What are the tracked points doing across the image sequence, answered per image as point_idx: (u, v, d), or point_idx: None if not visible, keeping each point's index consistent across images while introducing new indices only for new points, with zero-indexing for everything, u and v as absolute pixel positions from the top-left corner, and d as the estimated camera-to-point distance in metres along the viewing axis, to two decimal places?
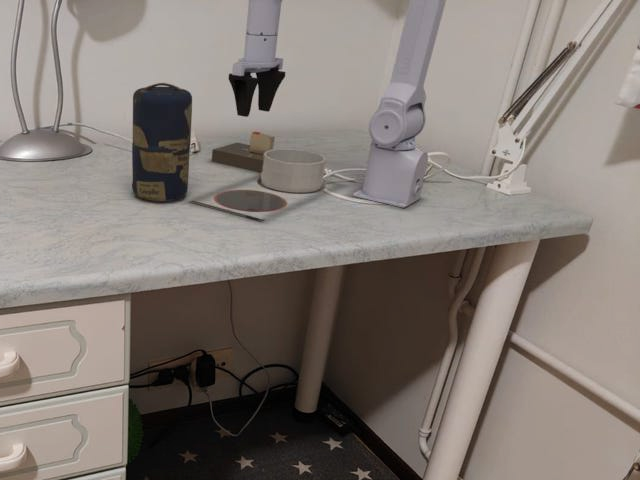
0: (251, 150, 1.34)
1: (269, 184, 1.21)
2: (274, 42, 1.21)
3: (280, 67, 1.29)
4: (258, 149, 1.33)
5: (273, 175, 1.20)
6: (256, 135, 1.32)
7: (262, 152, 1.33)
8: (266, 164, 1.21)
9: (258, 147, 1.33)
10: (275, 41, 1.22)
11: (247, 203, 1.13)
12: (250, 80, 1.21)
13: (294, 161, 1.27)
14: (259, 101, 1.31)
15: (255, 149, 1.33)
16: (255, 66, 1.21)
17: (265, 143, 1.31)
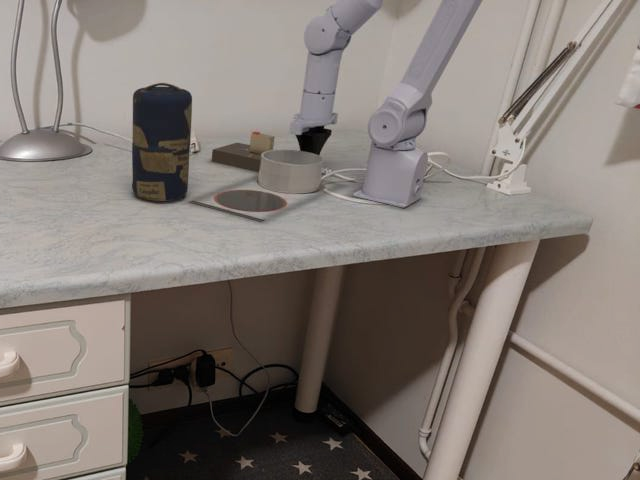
0: (251, 150, 1.34)
1: (266, 185, 1.21)
2: (332, 100, 1.20)
3: (335, 122, 1.28)
4: (258, 149, 1.33)
5: (270, 176, 1.19)
6: (256, 135, 1.32)
7: (262, 152, 1.33)
8: (263, 165, 1.20)
9: (258, 147, 1.33)
10: (333, 99, 1.20)
11: (247, 203, 1.13)
12: (318, 136, 1.22)
13: (291, 162, 1.27)
14: None
15: (255, 149, 1.33)
16: (313, 124, 1.20)
17: (265, 143, 1.31)
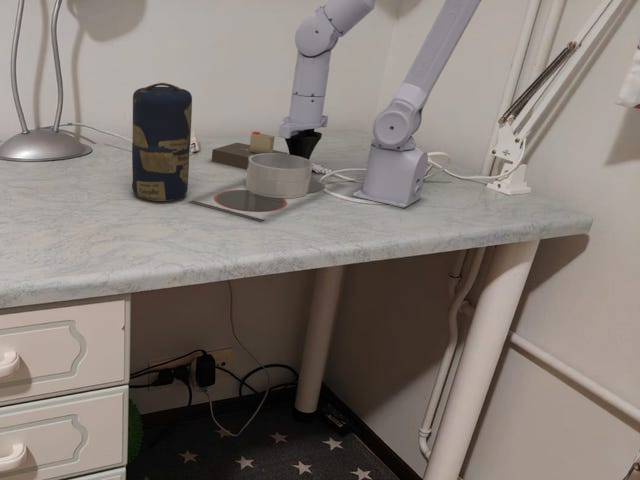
0: (251, 150, 1.34)
1: (254, 190, 1.18)
2: (322, 103, 1.17)
3: (325, 125, 1.25)
4: (258, 149, 1.33)
5: (258, 181, 1.17)
6: (256, 135, 1.32)
7: (262, 152, 1.33)
8: (251, 169, 1.17)
9: (258, 147, 1.33)
10: (323, 102, 1.17)
11: (247, 203, 1.13)
12: (307, 139, 1.19)
13: (280, 166, 1.24)
14: None
15: (255, 149, 1.33)
16: (302, 128, 1.17)
17: (265, 143, 1.31)
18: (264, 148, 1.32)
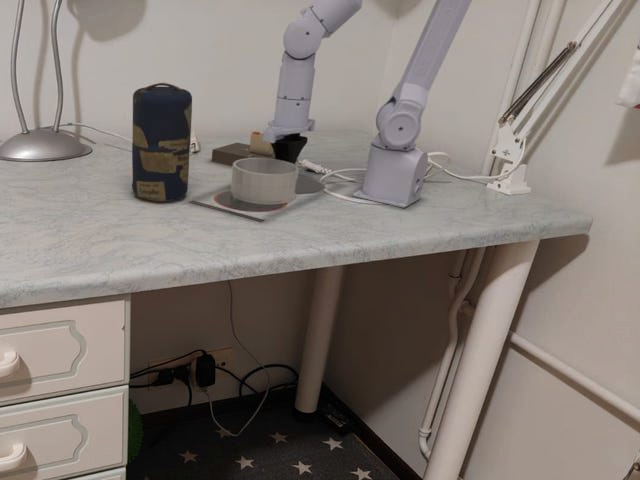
0: (251, 150, 1.34)
1: (238, 196, 1.14)
2: (307, 106, 1.13)
3: (312, 129, 1.21)
4: (258, 149, 1.33)
5: (242, 187, 1.13)
6: (256, 135, 1.32)
7: (262, 152, 1.33)
8: (235, 174, 1.14)
9: (258, 147, 1.33)
10: (308, 105, 1.14)
11: (247, 203, 1.13)
12: (293, 144, 1.15)
13: (266, 171, 1.20)
14: None
15: (255, 149, 1.33)
16: (287, 132, 1.13)
17: (265, 143, 1.31)
18: (264, 148, 1.32)
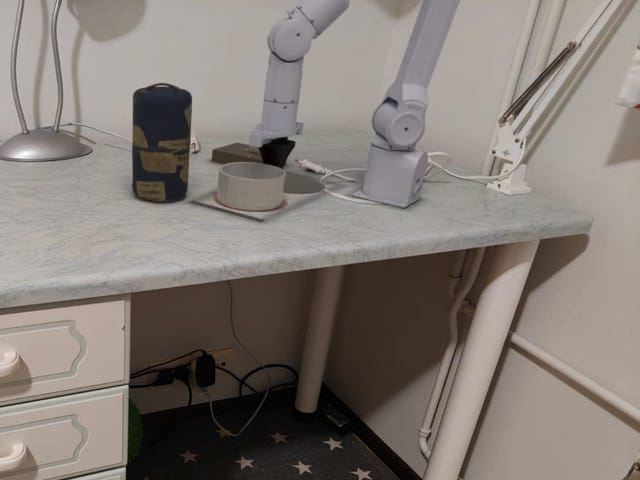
0: (251, 150, 1.34)
1: (224, 201, 1.12)
2: (295, 109, 1.11)
3: (300, 132, 1.18)
4: (258, 149, 1.33)
5: (228, 192, 1.10)
6: None
7: None
8: (221, 179, 1.11)
9: None
10: (296, 108, 1.11)
11: None
12: (280, 148, 1.12)
13: (254, 175, 1.17)
14: None
15: (255, 149, 1.33)
16: (274, 136, 1.10)
17: None
18: None
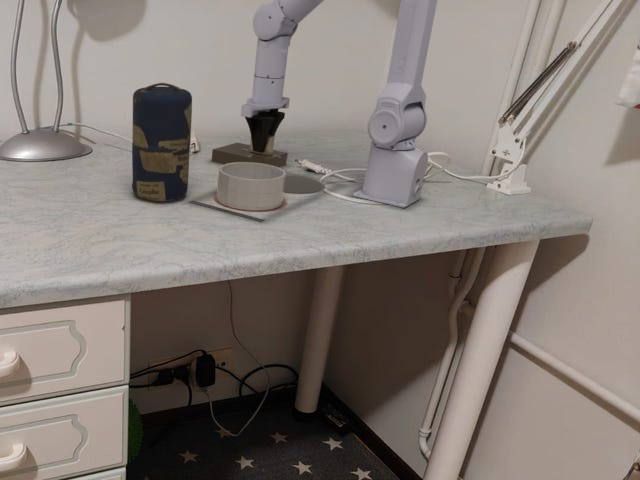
0: (251, 150, 1.34)
1: (224, 201, 1.12)
2: (281, 84, 1.26)
3: (287, 106, 1.34)
4: None
5: (228, 192, 1.10)
6: None
7: None
8: (221, 179, 1.11)
9: None
10: (282, 83, 1.26)
11: None
12: (266, 119, 1.27)
13: (254, 175, 1.17)
14: None
15: None
16: (263, 107, 1.25)
17: None
18: None
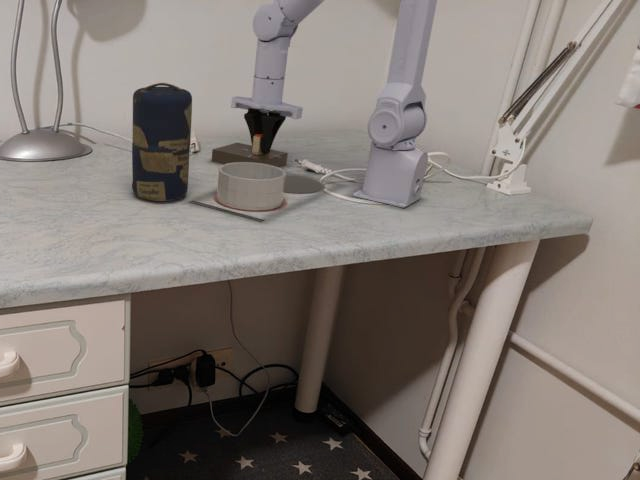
0: (259, 153, 1.32)
1: (224, 201, 1.12)
2: None
3: None
4: None
5: (228, 192, 1.10)
6: None
7: None
8: (221, 179, 1.11)
9: None
10: None
11: None
12: (285, 117, 1.30)
13: (254, 175, 1.17)
14: None
15: None
16: None
17: None
18: None
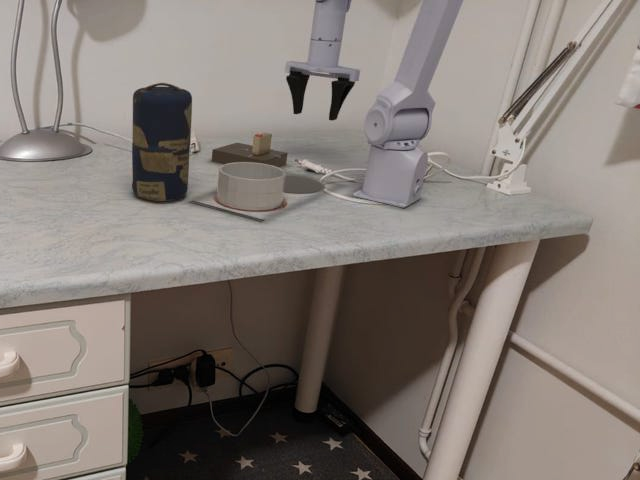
0: (259, 153, 1.32)
1: (224, 201, 1.12)
2: None
3: None
4: (263, 149, 1.33)
5: (228, 192, 1.10)
6: (263, 137, 1.31)
7: (266, 151, 1.34)
8: (221, 179, 1.11)
9: (264, 147, 1.33)
10: None
11: None
12: (354, 83, 1.27)
13: (254, 175, 1.17)
14: (297, 106, 1.33)
15: (262, 151, 1.32)
16: None
17: (268, 141, 1.33)
18: (267, 146, 1.33)
